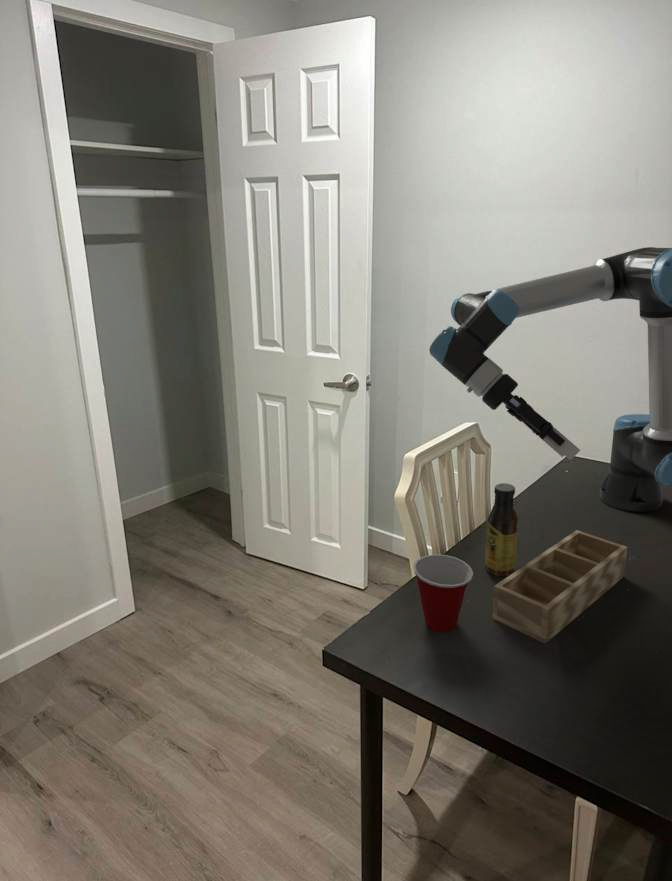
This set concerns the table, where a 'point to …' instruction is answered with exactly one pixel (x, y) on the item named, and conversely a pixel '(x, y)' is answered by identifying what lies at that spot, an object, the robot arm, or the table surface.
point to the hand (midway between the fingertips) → (571, 454)
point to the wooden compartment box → (558, 585)
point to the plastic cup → (442, 589)
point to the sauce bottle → (501, 532)
